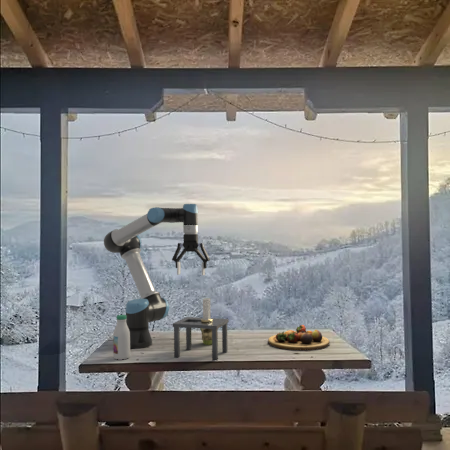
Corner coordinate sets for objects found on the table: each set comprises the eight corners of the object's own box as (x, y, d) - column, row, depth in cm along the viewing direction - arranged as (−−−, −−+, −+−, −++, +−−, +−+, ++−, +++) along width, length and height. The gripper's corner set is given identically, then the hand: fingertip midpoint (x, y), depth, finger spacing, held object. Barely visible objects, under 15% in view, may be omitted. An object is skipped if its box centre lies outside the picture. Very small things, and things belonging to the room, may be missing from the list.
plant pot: (215, 346, 253) (215, 329, 253) (198, 345, 255) (197, 328, 255) (219, 342, 262) (219, 325, 262) (202, 341, 264) (202, 325, 264)
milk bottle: (131, 355, 236) (131, 313, 236) (128, 360, 228) (128, 316, 228) (115, 356, 235) (114, 314, 236) (111, 360, 228) (111, 317, 228)
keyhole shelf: (172, 357, 231) (172, 323, 231) (187, 348, 248) (186, 316, 249) (217, 361, 225) (216, 326, 225) (228, 351, 242) (228, 319, 242)
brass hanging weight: (199, 340, 234) (199, 299, 234) (203, 337, 239) (203, 297, 239) (210, 341, 232) (210, 299, 232) (214, 338, 237) (214, 298, 238)
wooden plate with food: (283, 334, 280) (283, 320, 280) (337, 341, 264) (337, 325, 264) (257, 346, 253) (257, 330, 253) (316, 354, 236) (316, 337, 236)
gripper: (165, 233, 255) (165, 274, 255) (210, 233, 247) (211, 275, 247) (171, 233, 262) (171, 273, 262) (215, 233, 254) (216, 274, 254)
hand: (191, 274), depth 254 cm, fingers open, 13 cm apart
